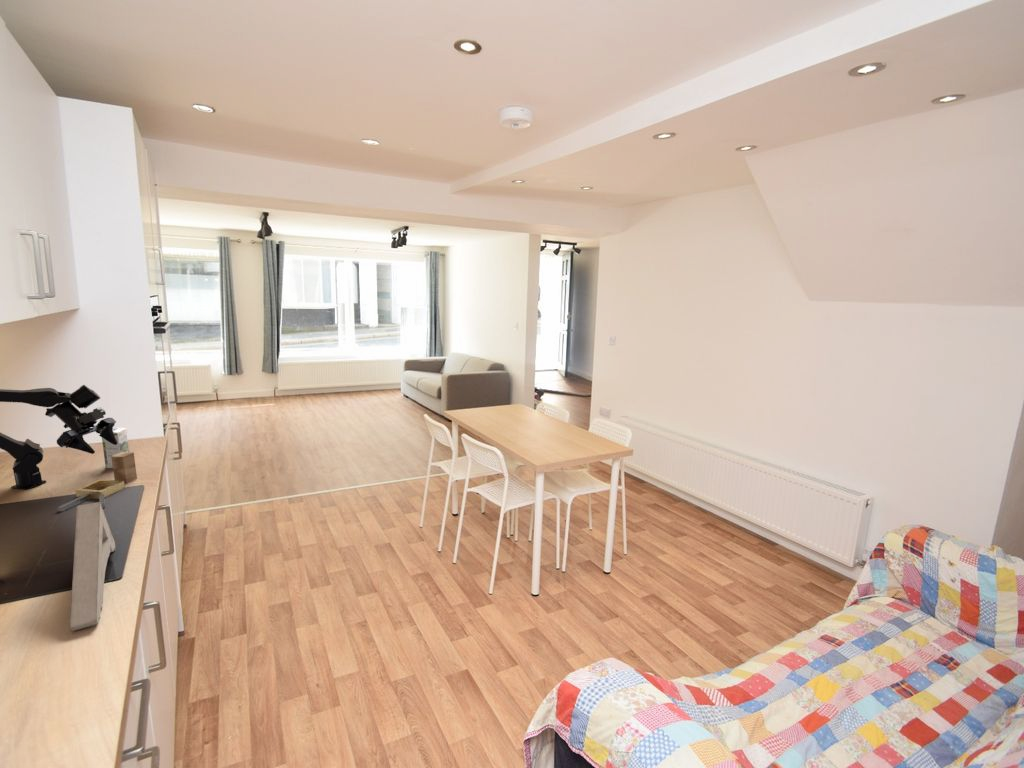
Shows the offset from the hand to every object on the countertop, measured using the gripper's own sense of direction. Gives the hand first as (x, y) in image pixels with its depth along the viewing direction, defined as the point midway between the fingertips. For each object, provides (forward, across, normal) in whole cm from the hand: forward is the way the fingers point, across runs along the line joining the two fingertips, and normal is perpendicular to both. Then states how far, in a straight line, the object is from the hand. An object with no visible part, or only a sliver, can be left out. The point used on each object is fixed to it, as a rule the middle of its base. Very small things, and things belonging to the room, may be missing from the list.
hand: (105, 448), depth 177 cm
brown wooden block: (+13, 0, +4) cm, 13 cm away
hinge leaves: (+15, -15, +2) cm, 21 cm away
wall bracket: (+43, -57, -26) cm, 76 cm away
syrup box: (+3, +12, +14) cm, 18 cm away
